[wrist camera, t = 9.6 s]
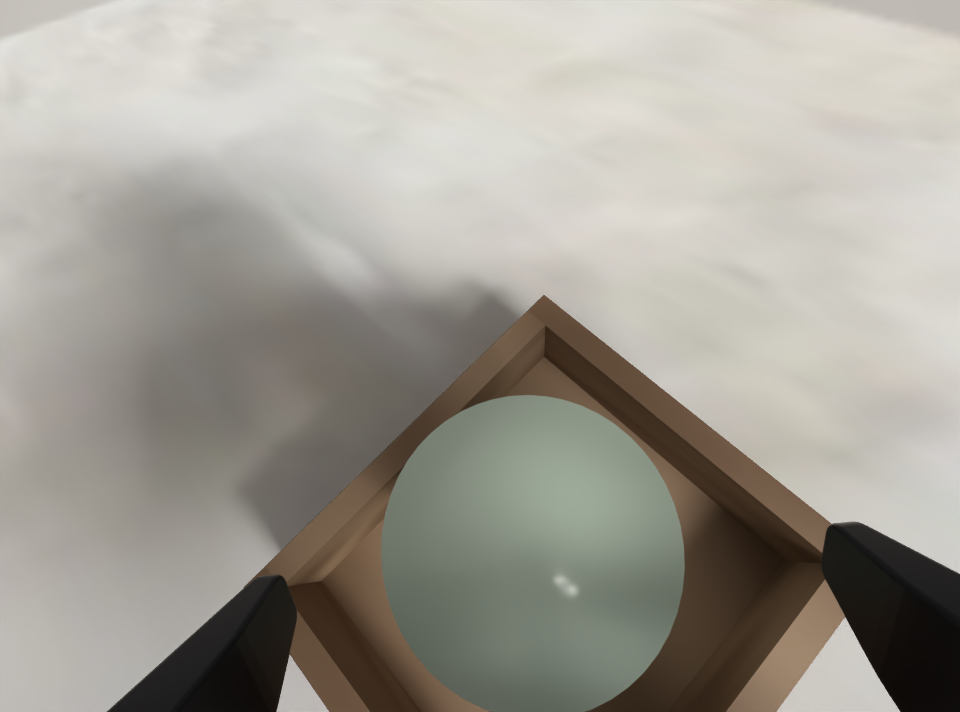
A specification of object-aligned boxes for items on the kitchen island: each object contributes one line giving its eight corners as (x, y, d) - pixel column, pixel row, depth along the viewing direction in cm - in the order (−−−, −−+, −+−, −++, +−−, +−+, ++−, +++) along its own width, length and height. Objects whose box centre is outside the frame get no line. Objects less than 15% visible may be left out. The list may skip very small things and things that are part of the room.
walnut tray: (544, 912, 14) (547, 1026, 10) (298, 579, 17) (243, 587, 14) (812, 560, 16) (883, 564, 13) (542, 335, 20) (543, 295, 17)
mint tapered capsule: (574, 639, 15) (622, 794, 6) (450, 574, 16) (328, 618, 7) (622, 506, 16) (723, 462, 7) (503, 453, 18) (458, 356, 8)
